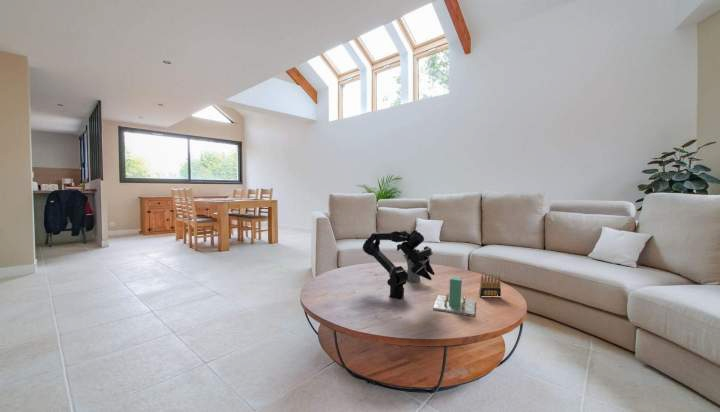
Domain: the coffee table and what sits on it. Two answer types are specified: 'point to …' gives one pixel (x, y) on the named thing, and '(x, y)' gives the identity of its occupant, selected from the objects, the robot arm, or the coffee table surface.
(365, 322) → the coffee table surface
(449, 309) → the chassis
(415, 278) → the coffeepot
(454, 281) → the green block
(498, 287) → the ammunition clip
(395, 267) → the robot arm
